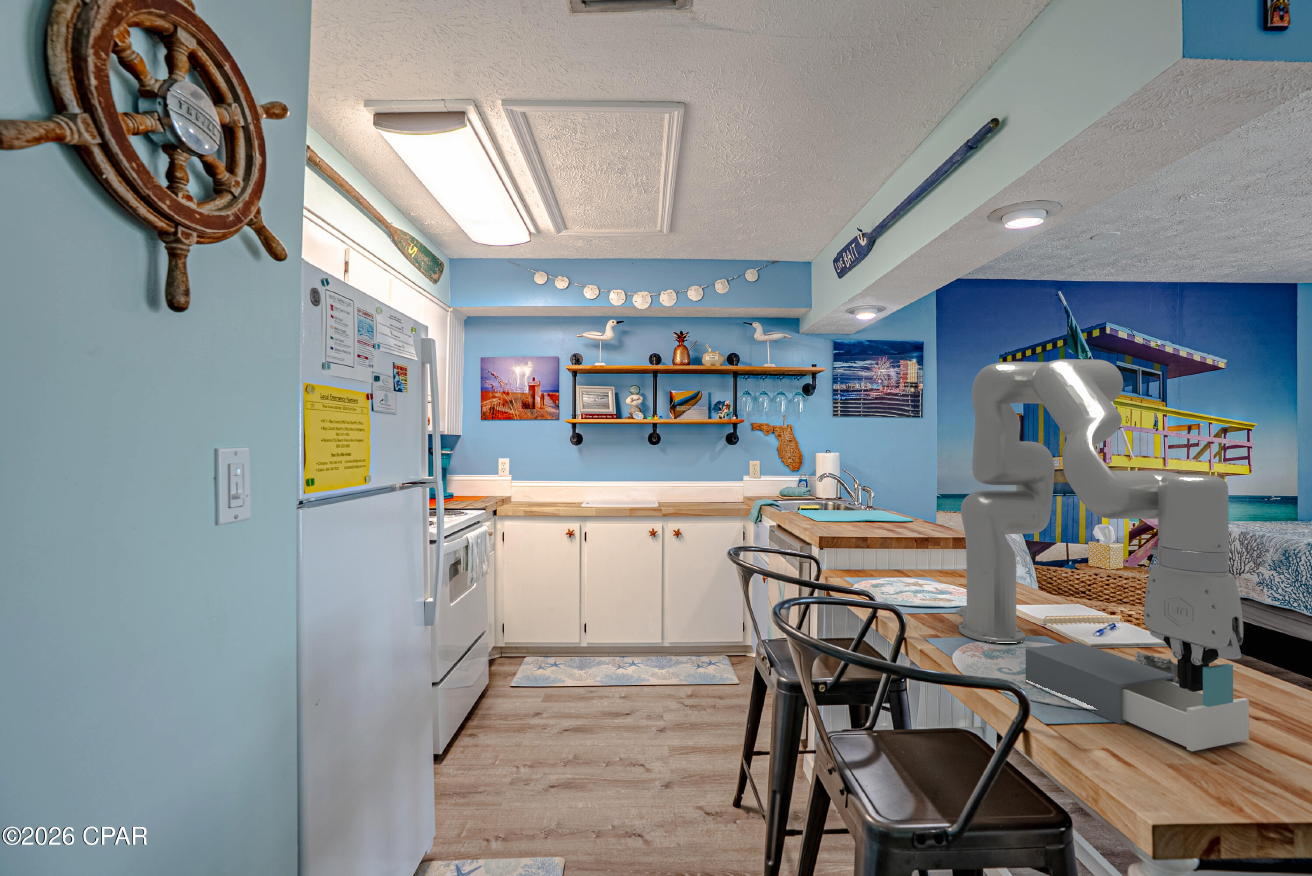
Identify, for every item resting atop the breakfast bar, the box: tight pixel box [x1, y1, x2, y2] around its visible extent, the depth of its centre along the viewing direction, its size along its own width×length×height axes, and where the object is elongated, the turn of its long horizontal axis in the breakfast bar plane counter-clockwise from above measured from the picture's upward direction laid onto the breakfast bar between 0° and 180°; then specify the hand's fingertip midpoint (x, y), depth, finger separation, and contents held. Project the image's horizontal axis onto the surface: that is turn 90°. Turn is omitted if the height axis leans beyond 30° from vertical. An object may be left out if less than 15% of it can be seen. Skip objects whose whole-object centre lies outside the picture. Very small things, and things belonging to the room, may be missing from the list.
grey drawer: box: [1122, 663, 1250, 752], centre depth 90 cm, size 16×11×11 cm
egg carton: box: [1135, 651, 1179, 684], centre depth 104 cm, size 11×8×4 cm
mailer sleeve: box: [1025, 641, 1177, 725], centre depth 98 cm, size 16×12×6 cm
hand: (1193, 688), depth 85 cm, fingers closed
